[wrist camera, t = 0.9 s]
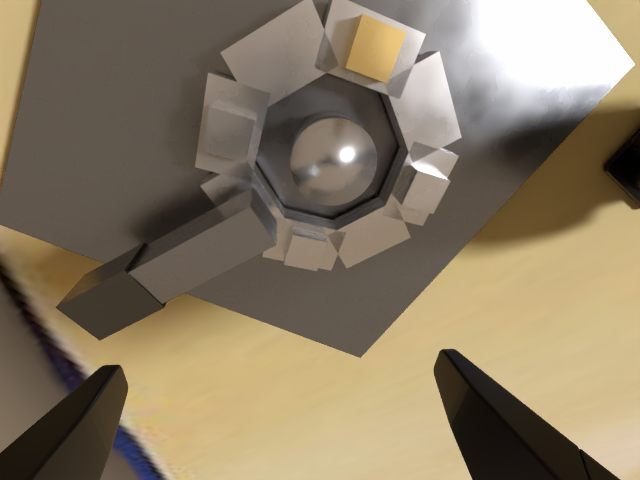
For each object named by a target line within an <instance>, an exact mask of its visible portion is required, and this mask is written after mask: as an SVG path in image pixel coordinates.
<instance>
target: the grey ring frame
mask: <svg viewBox="0 0 640 480" xmlns="http://www.w3.org/2000/svg"><path fill="white" fill-rule="evenodd" d="M425 35H426V34H424V33H422V32H420V31H418V30H415V29H413V28H411V27H408V26H406V25H404V24H401V23H399V22H397V21H395V20H392V19H390V18H388V17H385V16H383V15H381V14H378V13H376V12H374V11H372V10H369V9H367V8H365V7H362V6H360V5H358V4H355V3H353V2H351V1H349V0H329V3H328V6H327V10H326V14H325V17H324V21H323V25H322V23H321V20H320V18H319V16H318V13H317V11H316V8H315V6H314V4H313V1H312V0H303V1H302V2H300V3H299V4H297V5H295V6H294V7H292V8H291V9H289V10H287V11H286V12H284V13H283V14H281V15H279V16H278V17H276V18H275V19H273V20H272V21H270V22H268V23H267V24H265V25H264V26H262V27H260V28H259V29H257V30H256V31H254V32H252V33H251V34H249V35H248V36H246V37H244V38H243V39H241V40H240V41H238V42H236V43H235V44H233V45H232V46H230V47H228V48H227V49H225V50H224V51H222V52H220V53H221V55H222V57H223V58H224V60H225V62H226V63H227V65H228V67H229V68H230V70H231V72H232V74H233V75H234V77H235V79H234V78H232V77H229V76H226V75H223V74H220V73H217V72H214V71H213V72H208V76H207V83H206V90H205V98H204V105H203V112H202V119H201V127H200V134H199V141H198V148H197V156H196V163H195V167H196V168H200V169H204V170H208V171H211V172H214V173H212V174H210V175H209V176H207V177H205V179H204V180H203V182H202V184H201V185H200V186H201V188H202V189H203V190H204V191H205V193H206V194H207V195H208V197H209V198H210V199H211V201H212V202H213V203H214V205H215V206H216V208H214V209H212V210H210V211H209V212H207V213H205V214H203V215H201V216H199V217H198V218H196V219H194V220H192V221H190V222H188V223H187V224H185V225H183V226H181V227H179V228H178V229H176V230H174V231H172V232H170V233H168V234H167V235H165V236H163V237H161V238H159V239H158V240H156V241H154V242H152V243H150V244H147V243H146V242H144V243H142V244H140V245H138V246H136V247H135V248H133V249H131V250H129V251H127V252H125V253H124V254H122V255H120V256H118V257H116V258H115V259H113V260H111V261H109V262H107V263H106V264H104V265H102V266H100V267H98V268H96V269H95V270H93V271H91V272H89V273H87V274H86V275H84V276H83V278H82V279H81V280H80V281H79V282H78V283H77V284H76V285H75V287H74V288H73V289H72V290H71V291H70V292H69V293H68V294H67V295H66V297H65V298H64V299H63V300H62V301H61V302H60V303H59V304H58V306H57V307H56V308H57V309H58V310H59V311H61V312H62V313H64V314H65V315H66V316H68V317H69V318H70V319H72V320H73V321H74V322H76V323H77V324H78V325H80V326H81V327H82V328H84V329H85V330H86V331H88V332H89V333H90V334H92V335H93V336H94V337H96V338H97V339H98V340H102V339H104V338H106V337H108V336H110V335H112V334H114V333H115V332H117V331H119V330H121V329H123V328H125V327H127V326H129V325H131V324H133V323H135V322H137V321H139V320H141V319H143V318H145V317H147V316H149V315H151V314H153V313H155V312H156V311H158V310H160V309H162V308H164V307H165V305H166V303H167V301H169V300H171V299H173V298H175V297H177V296H179V295H181V294H183V293H184V292H186V291H188V290H190V289H192V288H194V287H196V286H198V285H200V284H202V283H204V282H206V281H208V280H210V279H212V278H214V277H216V276H218V275H220V274H221V273H223V272H225V271H227V270H229V269H231V268H233V267H235V266H237V265H239V264H241V263H243V262H245V261H247V260H249V259H251V258H253V257H255V256H256V255H258V254H260V253H262V252H263V253H262V257H266V258H271V259H275V260H280V261H284V265H288V266H293V267H298V268H303V269H308V270H313V271H317V269H318V268H320V269H325V270H330V271H331V270H332V268H333V265H334V263H335V260H336V258H337V255H339V256H340V258H341V260H342V262H343V263H344V265H345V267H346V268H349V267H351V266H353V265H355V264H357V263H359V262H361V261H363V260H365V259H367V258H369V257H372V256H374V255H376V254H378V253H380V252H382V251H384V250H386V249H388V248H390V247H392V246H394V245H396V244H398V243H400V242H402V241H404V240H407V239H409V238H411V237H410V234H409V232H408V230H407V227H406V225H405V222H409V223H413V224H417V225H421V226H423V224H424V223H425V221H426V219H427V217H428V215H429V213H432V214H434V212H435V210H436V208H437V206H438V204H439V202H440V200H441V198H442V196H443V195H444V193H445V191H446V189H447V187H448V185H449V183H450V180H449V179H448V176H449V174H450V172H451V171H452V169H453V167H454V165H455V163H456V161H457V159H458V157H459V156H458V155H456V154H454V153H452V152H450V151H449V150H446V149H443V148H442V147H444V146H446V145H448V144H450V143H452V142H454V141H456V140H458V139H460V138H462V137H461V133H460V129H459V125H458V121H457V117H456V114H455V110H454V106H453V102H452V98H451V94H450V90H449V86H448V83H447V79H446V75H445V71H444V67H443V63H442V59H441V55H440V52H439V51H428V52H425V53H423V54H422V55H420V56H418V57H417V55H418V53H419V50H420V48H421V45H422V43H423V40H424V38H425ZM325 73H328V74H331V75H334V76H337V77H339V78H342V79H345V80H347V81H350V82H353V83H356V84H358V85H361V86H364V87H367V88H369V89H372V90H375V91H378V92H380V93H381V96H382V99H383V101H384V104H385V107H386V110H387V112H388V115H389V118H390V120H391V123H392V126H393V129H394V131H395V134H396V137H397V139H398V142H399V145H400V148H399V150H398V153H397V155H396V157H395V160H394V162H393V164H392V167H391V169H390V171H389V174H388V176H387V178H386V181H385V183H384V185H383V188H382V190H381V192H380V195H379V197H377V198H375V199H373V200H371V201H369V202H367V203H365V204H363V205H361V206H359V207H357V208H355V209H353V210H352V211H350V212H348V213H346V214H344V215H342V216H340V217H338V218H336V219H334V220H331V219H327V218H322V217H318V216H314V215H310V214H306V213H302V212H298V211H294V210H290V209H286V208H284V207H283V206H282V204H281V203H280V201H279V200H278V198H277V196H276V195H275V193H274V192H273V190H272V189H271V187H270V185H269V184H268V182H267V181H266V179H265V178H264V176H263V174H262V173H261V171H260V170H259V168H258V167H257V165H256V164H255V161H256V156H257V152H258V147H259V143H260V139H261V134H262V130H263V125H264V121H265V116H266V112H267V108H268V107H269V106H271V105H272V104H274V103H276V102H278V101H279V100H281V99H283V98H284V97H286V96H288V95H289V94H291V93H293V92H295V91H296V90H298V89H300V88H301V87H303V86H305V85H307V84H308V83H310V82H312V81H313V80H315V79H317V78H319V77H320V76H322V75H324V74H325ZM404 221H405V222H404Z"/></svg>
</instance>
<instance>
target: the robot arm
mask: <svg viewBox="0 0 640 480" xmlns="http://www.w3.org/2000/svg"><path fill="white" fill-rule="evenodd" d="M604 171H605V172H606V173H607V174H608V175H609V176H610V177H611V178H612V179H613V180H614V181H615V182H616V183H617V184H618V185H619V186H620V187H621V188H622V189H623V190H624V191H625V192H626V193H627V194H628V195H629V196H630V197H631V198H632V199H633V200H634V201H635V202H636V203H637V204H638V205H639V206H640V130H639V131H638V132H637V133H636V134H635V135H634V136H633V137H632V138H631V139H630V140H629V141H627V142H626V143H625V144H624V145H623V146H622V147H621V148H620V149H619V150H618V151H617V152H616V153H615V154H614V155H613V156H612V157H611V158H610V159H609V160H608V161H607V162H606V163H605V165H604ZM434 376H435V379H436V382H437V386H438V389H439V392H440V395H441V399H442V402H443V405H444V408H445V411H446V415H447V418H448V421H449V424H450V427H451V429H452V432H453V434H454V437H455V439H456V442H457V444H458V446H459V449H460V451H461V454H462V456H463V458H464V461H465V463H466V465H467V468H468V470H469V473H470V475H471V477H472V480H620V479H619V478H617V477H616V476H615V475H614V474H612V473H611V472H610V471H608V470H607V469H606V468H604V467H603V466H602V465H601V464H599V463H598V462H597V461H595V460H594V459H593V458H592V457H590V456H589V455H588V454H587V453H585V452H584V451H583V450H581V449H579V448H578V446H576V445H575V444H574V443H573V442H571V441H570V440H569V439H568V438H566V437H565V436H564V435H563V434H561V433H560V432H559V431H558V430H556V429H555V428H554V427H552V426H551V425H550V424H549V423H547V422H546V421H545V420H544V419H542V418H541V417H540V416H539V415H537V414H536V413H535V412H534V411H532V410H531V409H530V408H529V407H527V406H526V405H525V404H523V403H522V402H521V401H520V400H518V399H517V398H516V397H515V396H513V395H512V394H511V393H510V392H508V391H507V390H506V389H505V388H503V387H502V386H501V385H500V384H498V383H497V382H496V381H494V380H493V379H492V378H491V377H489V376H488V375H487V374H486V373H484V372H483V371H482V370H481V369H479V368H478V367H477V366H476V365H474V364H473V363H472V362H471V361H469V360H468V359H467V358H465V357H464V356H463V355H462V354H460V353H459V352H458V351H456V350H455V349H443V350H441V351H440V352H439V355H438V357H437V360H436V363H435V366H434ZM127 392H128V383H127V380H126V378H125V375H124V372H123V369H122V367H121V366H120V365H105V366H102V367H100V368H99V369H98V370H97V371H95V372H94V373H93V374H92V375H91V376H90V377H88V378H87V379H86V380H85V381H84V382H83V383H81V384H80V385H79V386H78V387H77V388H76V389H74V390H73V391H72V392H71V393H70V394H69V395H67V396H66V397H65V398H64V399H63V400H62V401H61V402H59V403H58V404H57V405H56V406H55V407H54V408H52V409H51V410H50V411H49V412H48V413H46V415H44V416H43V417H42V418H41V419H40V420H38V421H37V422H36V423H35V424H34V425H32V426H31V427H30V428H29V429H28V430H27V431H26V432H24V433H23V434H22V435H21V436H20V437H18V439H16V440H15V441H14V442H13V443H11V444H10V445H9V446H8V447H7V448H6V449H5V450H3V451H2V452H1V453H0V480H100V478H101V476H102V473H103V471H104V468H105V466H106V463H107V460H108V458H109V455H110V452H111V448H112V445H113V442H114V438H115V435H116V431H117V428H118V424H119V421H120V417H121V414H122V410H123V407H124V403H125V400H126V396H127Z"/></svg>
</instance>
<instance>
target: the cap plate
mask: <svg viewBox="0 0 640 480" xmlns="http://www.w3.org/2000/svg"><path fill="white" fill-rule="evenodd" d="M302 1H303V0H42V2H41V6H40V11H39V16H38V20H37V25H36V30H35V34H34V39H33V44H32V48H31V53H30V58H29V62H28V67H27V72H26V76H25V81H24V86H23V90H22V95H21V100H20V104H19V109H18V114H17V118H16V123H15V128H14V132H13V137H12V142H11V146H10V151H9V156H8V160H7V165H6V170H5V174H4V179H3V184H2V188H1V193H0V225H2V226H5V227H7V228H10V229H13V230H16V231H18V232H21V233H24V234H26V235H29V236H32V237H35V238H37V239H40V240H43V241H45V242H48V243H51V244H54V245H56V246H59V247H62V248H64V249H67V250H70V251H73V252H75V253H78V254H81V255H83V256H86V257H89V258H91V259H94V260H97V261H100V262H102V263H105V264H106V263H107V262H109V261H111V260H113V259H115V258H116V257H118V256H120V255H122V254H124V253H125V252H127V251H129V250H131V249H133V248H135V247H136V246H138V245H140V244H142V243H144V242H146V243H147V244H150V243H152V242H154V241H156V240H158V239H159V238H161V237H163V236H165V235H167V234H168V233H170V232H172V231H174V230H176V229H178V228H179V227H181V226H183V225H185V224H187V223H188V222H190V221H192V220H194V219H196V218H198V217H199V216H201V215H203V214H205V213H207V212H209V211H210V210H212V209H214V208H216V206H215V205H214V203H213V202H212V201H211V199H210V198H209V197H208V195H207V194H206V193H205V191H204V190H203V189H202V188H201V186H200V185H201V184H202V182H203V180H204V179H205V177H207V176H209V175H210V174H212V173H214V172H211V171H208V170H204V169H200V168H196V167H195V163H196V156H197V148H198V141H199V134H200V127H201V119H202V112H203V105H204V98H205V90H206V83H207V76H208V72H213V71H214V72H217V73H220V74H223V75H226V76H229V77H232V78H234V79H235V77H234V75H233V74H232V72H231V70H230V68H229V67H228V65H227V63H226V62H225V60H224V58H223V57H222V55H221V53H220V52H222V51H224V50H225V49H227V48H228V47H230V46H232V45H233V44H235V43H236V42H238V41H240V40H241V39H243V38H244V37H246V36H248V35H249V34H251V33H252V32H254V31H256V30H257V29H259V28H260V27H262V26H264V25H265V24H267V23H268V22H270V21H272V20H273V19H275V18H276V17H278V16H279V15H281V14H283V13H284V12H286V11H287V10H289V9H291V8H292V7H294V6H295V5H297V4H299V3H300V2H302ZM312 1H313V4H314V6H315V8H316V11H317V13H318V16H319V18H320V20H321V23H322V25H323V21H324V17H325V14H326V10H327V6H328V3H329V0H312ZM349 1H351V2H353V3H355V4H358V5H360V6H362V7H365V8H367V9H369V10H372V11H374V12H376V13H378V14H381V15H383V16H385V17H388V18H390V19H392V20H395V21H397V22H399V23H401V24H404V25H406V26H408V27H411V28H413V29H415V30H418V31H420V32H422V33H424V34H426V35H425V38H424V40H423V43H422V45H421V48H420V50H419V53H418V55H417V57H418V56H420V55H422V54H423V53H425V52H428V51H439V52H440V55H441V59H442V63H443V67H444V71H445V75H446V79H447V83H448V86H449V90H450V94H451V98H452V102H453V106H454V110H455V114H456V117H457V121H458V125H459V129H460V133H461V137H462V138H460V139H458V140H456V141H454V142H452V143H450V144H448V145H446V146H444V147H442V148H443V149H446V150H449V151H450V152H452V153H454V154H456V155H458V156H459V157H458V159H457V161H456V163H455V165H454V167H453V169H452V171H451V172H450V174H449V176H448V179H449V180H450V183H449V185H448V187H447V189H446V191H445V193H444V195H443V196H442V198H441V200H440V202H439V204H438V206H437V208H436V210H435V212H434V214H432V213H429V215H428V217H427V219H426V221H425V223H424V224H423V226H421V225H417V224H413V223H409V222H405V221H404V222H405V225H406V227H407V230H408V232H409V234H410V237H411V238H409V239H407V240H404V241H402V242H400V243H398V244H396V245H394V246H392V247H390V248H388V249H386V250H384V251H382V252H380V253H378V254H376V255H374V256H372V257H369V258H367V259H365V260H363V261H361V262H359V263H357V264H355V265H353V266H351V267H349V268H346V267H345V265H344V263H343V262H342V260H341V258H340V256H339V255H337V258H336V260H335V263H334V265H333V268H332V270H331V271H330V270H325V269H320V268H318V269H317V271H313V270H308V269H303V268H298V267H293V266H288V265H284V261H280V260H275V259H271V258H266V257H262V253H263V252H262V253H260V254H258V255H256V256H255V257H253V258H251V259H249V260H247V261H245V262H243V263H241V264H239V265H237V266H235V267H233V268H231V269H229V270H227V271H225V272H223V273H221V274H220V275H218V276H216V277H214V278H212V279H210V280H208V281H206V282H204V283H202V284H200V285H198V286H196V287H194V288H192V289H190V290H188V291H186V292H184V293H186V294H189V295H192V296H194V297H197V298H200V299H203V300H205V301H208V302H211V303H213V304H216V305H219V306H221V307H224V308H227V309H230V310H232V311H235V312H238V313H240V314H243V315H246V316H249V317H251V318H254V319H257V320H259V321H262V322H265V323H268V324H270V325H273V326H276V327H278V328H281V329H284V330H286V331H289V332H292V333H295V334H297V335H300V336H303V337H305V338H308V339H311V340H314V341H316V342H319V343H322V344H324V345H327V346H330V347H333V348H335V349H338V350H341V351H343V352H346V353H349V354H352V355H354V356H357V357H360V358H361V357H362V355H363V354H364V353H365V352H366V351H367V350H368V349H369V348H370V347H371V346H372V345H373V344H374V343H375V342H376V341H377V339H378V338H379V337H380V336H381V335H382V334H383V333H384V332H385V331H386V330H387V329H388V328H389V327H390V326H391V324H392V323H393V322H394V321H395V320H396V319H397V318H398V317H399V316H400V315H401V314H402V313H403V312H404V311H405V310H406V308H407V307H408V306H409V305H410V304H411V303H412V302H413V301H414V300H415V299H416V298H417V297H418V296H419V295H420V293H421V292H422V291H423V290H424V289H425V288H426V287H427V286H428V285H429V284H430V283H431V282H432V281H433V280H434V279H435V277H436V276H437V275H438V274H439V273H440V272H441V271H442V270H443V269H444V268H445V267H446V266H447V265H448V264H449V262H450V261H451V260H452V259H453V258H454V257H455V256H456V255H457V254H458V253H459V252H460V251H461V250H462V249H463V248H464V246H465V245H466V244H467V243H468V242H469V241H470V240H471V239H472V238H473V237H474V236H475V235H476V234H477V233H478V231H479V230H480V229H481V228H482V227H483V226H484V225H485V224H486V223H487V222H488V221H489V220H490V219H491V218H492V216H493V215H494V214H495V213H496V212H497V211H498V210H499V209H500V208H501V207H502V206H503V205H504V204H505V203H506V202H507V200H508V199H509V198H510V197H511V196H512V195H513V194H514V193H515V192H516V191H517V190H518V189H519V188H520V187H521V185H522V184H523V183H524V182H525V181H526V180H527V179H528V178H529V177H530V176H531V175H532V174H533V173H534V172H535V171H536V169H537V168H538V167H539V166H540V165H541V164H542V163H543V162H544V161H545V160H546V159H547V158H548V157H549V156H550V154H551V153H552V152H553V151H554V150H555V149H556V148H557V147H558V146H559V145H560V144H561V143H562V142H563V141H564V140H565V138H566V137H567V136H568V135H569V134H570V133H571V132H572V131H573V130H574V129H575V128H576V127H577V126H578V125H579V123H580V122H581V121H582V120H583V119H584V118H585V117H586V116H587V115H588V114H589V113H590V112H591V111H592V110H593V108H594V107H595V106H596V105H597V104H598V103H599V102H600V101H601V100H602V99H603V98H604V97H605V96H606V95H607V94H608V92H609V91H610V90H611V89H612V88H613V87H614V86H615V85H616V84H617V83H618V82H619V81H620V80H621V79H622V77H623V76H624V75H625V74H626V73H627V72H628V71H629V70H630V69H631V68H632V67H633V66H634V65H635V64H634V62H633V61H632V60H631V58H630V57H629V56H628V55H627V53H626V52H625V51H624V49H623V48H622V47H621V46H620V44H619V43H618V42H617V40H616V39H615V38H614V37H613V35H612V34H611V33H610V31H609V30H608V29H607V27H606V26H605V25H604V24H603V22H602V21H601V20H600V18H599V17H598V16H597V15H596V13H595V12H594V11H593V9H592V8H591V7H590V6H589V4H588V3H587V2H586V0H349ZM399 148H400V145H399V142H398V139H397V137H396V134H395V131H394V129H393V126H392V123H391V120H390V118H389V115H388V112H387V110H386V107H385V104H384V101H383V99H382V96H381V93H380V92H378V91H375V90H372V89H369V88H367V87H364V86H361V85H358V84H356V83H353V82H350V81H347V80H345V79H342V78H339V77H337V76H334V75H331V74H328V73H325V74H324V75H322V76H320V77H319V78H317V79H315V80H313V81H312V82H310V83H308V84H307V85H305V86H303V87H301V88H300V89H298V90H296V91H295V92H293V93H291V94H289V95H288V96H286V97H284V98H283V99H281V100H279V101H278V102H276V103H274V104H272V105H271V106H269V107H268V108H267V112H266V116H265V121H264V125H263V130H262V134H261V139H260V143H259V147H258V152H257V156H256V161H255V164H256V165H257V167H258V168H259V170H260V171H261V173H262V174H263V176H264V178H265V179H266V181H267V182H268V184H269V185H270V187H271V189H272V190H273V192H274V193H275V195H276V196H277V198H278V200H279V201H280V203H281V204H282V206H283V207H284V208H286V209H290V210H294V211H298V212H302V213H306V214H310V215H314V216H318V217H322V218H327V219H331V220H334V219H336V218H338V217H340V216H342V215H344V214H346V213H348V212H350V211H352V210H353V209H355V208H357V207H359V206H361V205H363V204H365V203H367V202H369V201H371V200H373V199H375V198H377V197H379V195H380V192H381V190H382V188H383V185H384V183H385V181H386V178H387V176H388V174H389V171H390V169H391V167H392V164H393V162H394V160H395V157H396V155H397V153H398V150H399Z"/></svg>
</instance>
